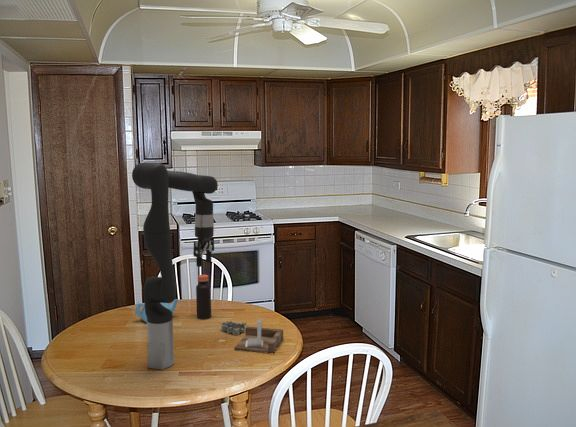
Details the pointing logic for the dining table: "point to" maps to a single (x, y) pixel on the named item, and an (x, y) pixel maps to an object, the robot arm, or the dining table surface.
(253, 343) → the bracket
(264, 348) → the arena
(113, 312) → the dining table surface
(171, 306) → the teapot
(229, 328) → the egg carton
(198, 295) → the bottle
